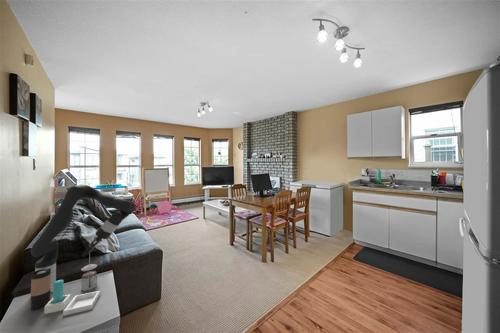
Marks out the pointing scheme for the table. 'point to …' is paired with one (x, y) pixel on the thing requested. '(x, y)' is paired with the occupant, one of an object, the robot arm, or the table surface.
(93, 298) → the tray
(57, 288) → the dowel
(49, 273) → the travel mug
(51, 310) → the square box
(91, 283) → the french press
